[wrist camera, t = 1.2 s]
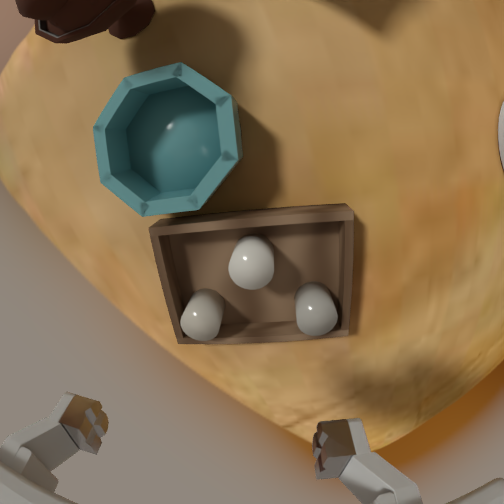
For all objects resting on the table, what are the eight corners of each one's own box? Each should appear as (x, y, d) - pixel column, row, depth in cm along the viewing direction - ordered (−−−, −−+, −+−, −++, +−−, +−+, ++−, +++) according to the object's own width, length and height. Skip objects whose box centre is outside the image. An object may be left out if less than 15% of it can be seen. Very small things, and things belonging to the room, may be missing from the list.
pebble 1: (222, 287, 30) (215, 308, 26) (227, 318, 31) (222, 340, 27) (187, 289, 30) (176, 309, 26) (194, 318, 31) (185, 340, 28)
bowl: (234, 68, 22) (226, 53, 18) (248, 194, 26) (243, 205, 22) (116, 95, 23) (90, 90, 19) (131, 208, 28) (108, 221, 23)
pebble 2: (272, 231, 27) (272, 246, 23) (275, 268, 28) (275, 288, 25) (231, 234, 28) (225, 249, 24) (236, 271, 29) (231, 290, 25)
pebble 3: (330, 279, 29) (338, 300, 25) (329, 311, 30) (336, 333, 26) (293, 282, 29) (296, 303, 25) (294, 314, 30) (297, 337, 27)
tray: (345, 203, 26) (353, 210, 23) (342, 319, 31) (348, 335, 28) (160, 219, 28) (148, 228, 25) (185, 327, 33) (178, 343, 30)
